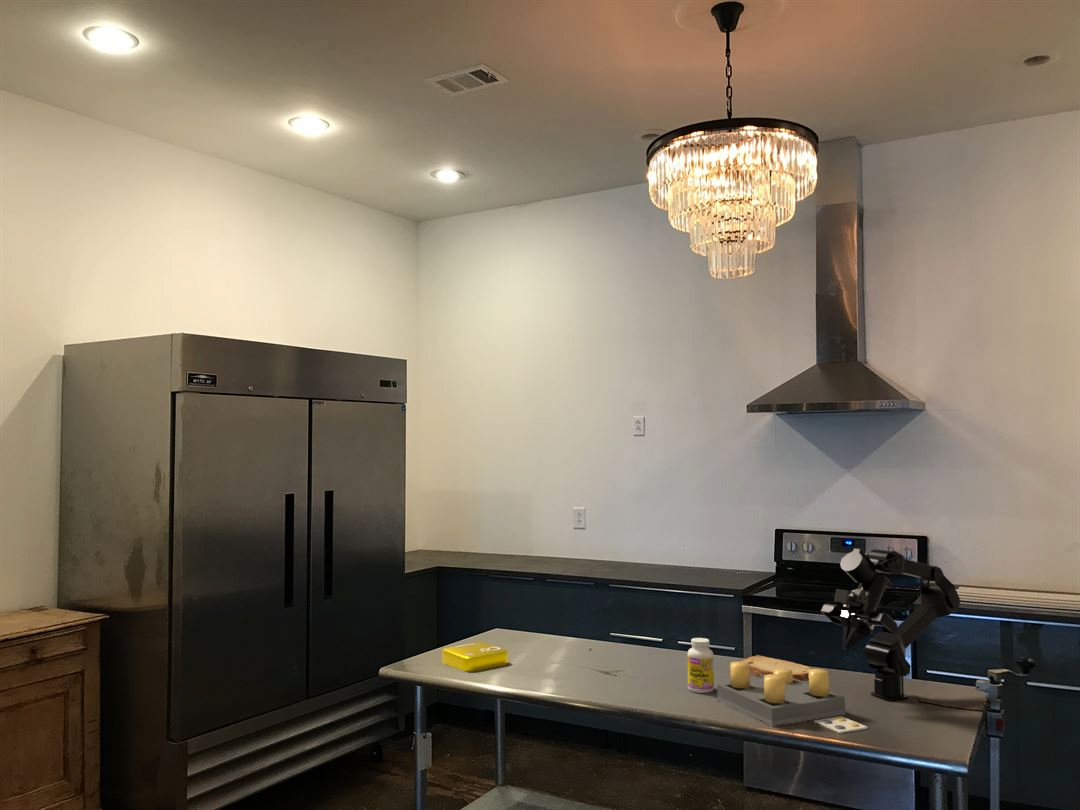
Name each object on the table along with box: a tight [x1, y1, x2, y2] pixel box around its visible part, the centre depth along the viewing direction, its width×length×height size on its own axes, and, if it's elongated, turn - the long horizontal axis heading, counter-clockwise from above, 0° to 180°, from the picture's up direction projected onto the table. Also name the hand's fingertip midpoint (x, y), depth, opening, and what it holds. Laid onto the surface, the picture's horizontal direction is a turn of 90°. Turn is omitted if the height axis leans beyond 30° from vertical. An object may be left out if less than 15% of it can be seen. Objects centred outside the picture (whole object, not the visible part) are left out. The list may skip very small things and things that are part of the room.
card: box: [813, 715, 868, 734], centre depth 185 cm, size 8×8×1 cm
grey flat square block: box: [716, 677, 846, 727], centre depth 198 cm, size 21×21×4 cm
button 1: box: [729, 661, 751, 688], centre depth 202 cm, size 5×5×5 cm
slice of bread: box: [740, 654, 812, 681], centre depth 230 cm, size 18×18×4 cm
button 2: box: [764, 675, 785, 703], centre depth 190 cm, size 5×5×5 cm
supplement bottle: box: [687, 637, 715, 694], centre depth 213 cm, size 7×7×13 cm
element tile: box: [441, 641, 509, 673], centre depth 242 cm, size 15×15×5 cm
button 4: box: [808, 668, 830, 696], centre depth 195 cm, size 5×5×5 cm
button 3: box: [773, 668, 793, 684], centre depth 207 cm, size 5×5×5 cm
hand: (844, 648), depth 199 cm, fingers closed
